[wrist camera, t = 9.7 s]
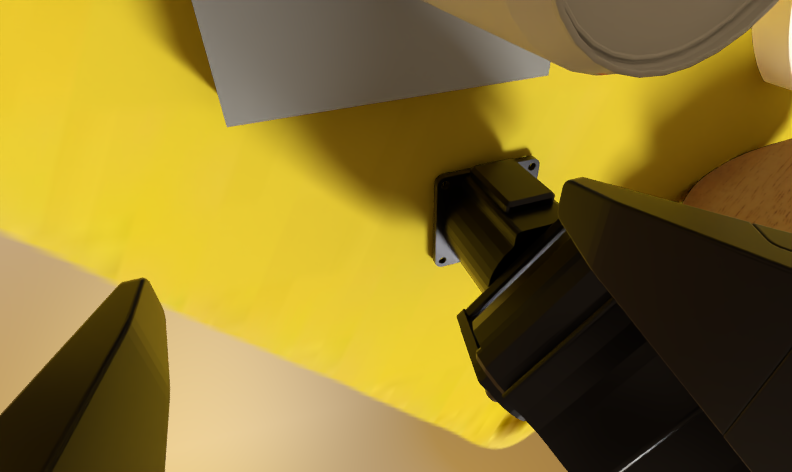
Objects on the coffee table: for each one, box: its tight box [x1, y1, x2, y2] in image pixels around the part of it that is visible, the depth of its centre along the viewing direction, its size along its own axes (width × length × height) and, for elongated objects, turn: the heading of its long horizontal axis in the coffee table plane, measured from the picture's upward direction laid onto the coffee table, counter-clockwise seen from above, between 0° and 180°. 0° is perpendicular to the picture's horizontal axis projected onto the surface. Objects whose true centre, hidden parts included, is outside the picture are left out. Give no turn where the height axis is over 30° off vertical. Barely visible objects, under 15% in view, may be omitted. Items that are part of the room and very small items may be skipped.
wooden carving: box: [682, 139, 792, 233], centre depth 30 cm, size 16×5×10 cm, turn 121°
